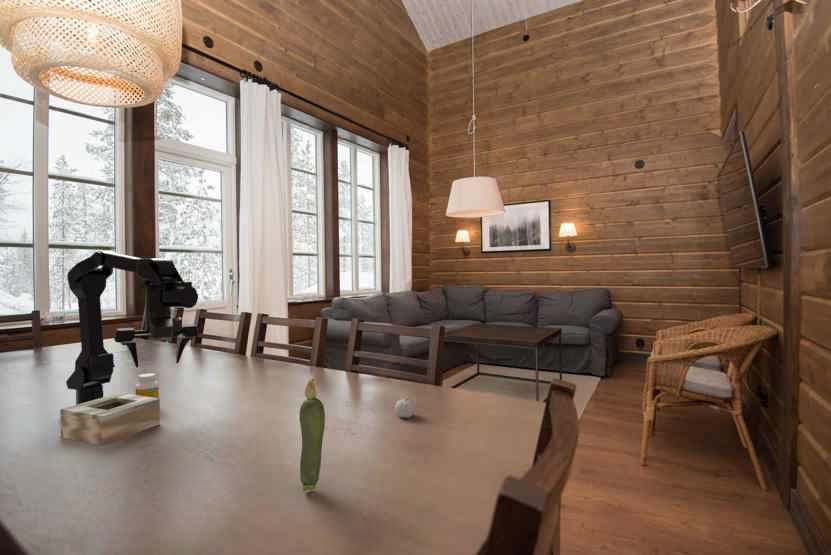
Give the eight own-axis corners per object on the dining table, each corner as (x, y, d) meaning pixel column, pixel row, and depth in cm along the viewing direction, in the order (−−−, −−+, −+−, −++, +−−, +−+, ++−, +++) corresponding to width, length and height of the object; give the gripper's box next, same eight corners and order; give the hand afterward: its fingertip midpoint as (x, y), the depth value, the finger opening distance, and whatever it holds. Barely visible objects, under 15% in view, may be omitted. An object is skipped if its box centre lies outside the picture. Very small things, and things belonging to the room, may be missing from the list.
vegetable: (302, 483, 78) (301, 373, 78) (326, 482, 78) (326, 373, 78) (297, 496, 74) (297, 380, 73) (323, 495, 74) (323, 379, 74)
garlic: (420, 416, 114) (420, 397, 114) (406, 422, 110) (406, 401, 110) (404, 411, 118) (404, 392, 118) (390, 416, 114) (390, 396, 114)
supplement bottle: (147, 413, 116) (147, 377, 116) (130, 412, 117) (130, 376, 117) (163, 407, 121) (163, 373, 121) (146, 406, 122) (146, 372, 122)
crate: (60, 437, 99) (60, 409, 99) (119, 417, 113) (119, 392, 113) (103, 445, 95) (102, 416, 95) (159, 424, 108) (159, 398, 108)
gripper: (118, 310, 101) (117, 376, 102) (204, 307, 113) (203, 366, 113) (114, 306, 110) (113, 367, 110) (194, 304, 122) (193, 359, 122)
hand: (157, 365), depth 114 cm, fingers open, 9 cm apart
